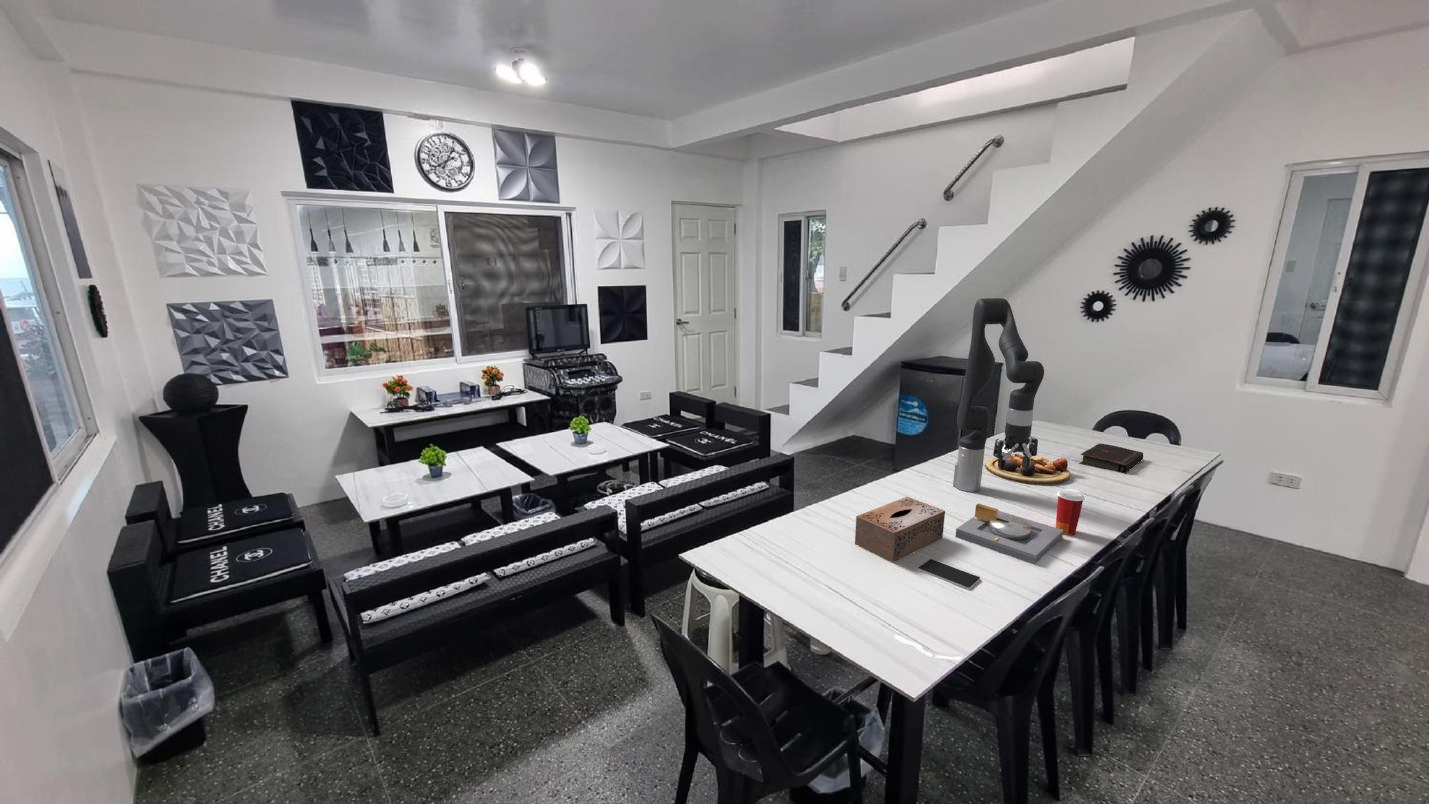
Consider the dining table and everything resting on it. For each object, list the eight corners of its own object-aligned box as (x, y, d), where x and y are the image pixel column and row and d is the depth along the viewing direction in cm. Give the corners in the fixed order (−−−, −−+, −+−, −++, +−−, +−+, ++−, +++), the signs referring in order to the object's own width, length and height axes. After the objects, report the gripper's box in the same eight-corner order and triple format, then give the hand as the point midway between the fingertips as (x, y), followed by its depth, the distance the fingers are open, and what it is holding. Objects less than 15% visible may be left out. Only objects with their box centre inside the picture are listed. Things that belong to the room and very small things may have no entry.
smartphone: (930, 558, 171) (981, 576, 160) (930, 561, 171) (980, 580, 160) (917, 568, 165) (968, 587, 155) (917, 571, 166) (968, 591, 155)
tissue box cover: (892, 563, 170) (894, 533, 167) (854, 544, 181) (856, 516, 179) (942, 539, 184) (945, 510, 182) (904, 523, 196) (906, 496, 193)
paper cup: (1075, 528, 190) (1081, 489, 187) (1081, 538, 183) (1088, 498, 180) (1049, 525, 193) (1054, 486, 189) (1054, 535, 186) (1060, 495, 182)
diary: (1142, 462, 254) (1144, 451, 252) (1126, 476, 238) (1128, 464, 236) (1095, 451, 267) (1096, 441, 266) (1076, 464, 251) (1078, 453, 250)
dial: (1036, 531, 183) (1038, 514, 182) (1021, 544, 175) (1024, 526, 174) (983, 515, 195) (984, 499, 194) (967, 526, 188) (969, 509, 186)
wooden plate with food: (1070, 467, 247) (1073, 449, 245) (1069, 491, 221) (1071, 471, 219) (990, 456, 264) (991, 439, 262) (979, 477, 237) (981, 458, 236)
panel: (955, 536, 185) (956, 527, 184) (986, 515, 201) (987, 506, 200) (1034, 564, 168) (1035, 554, 167) (1062, 538, 183) (1063, 529, 182)
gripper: (1006, 426, 179) (1001, 474, 183) (1046, 423, 181) (1040, 471, 185) (991, 420, 186) (986, 466, 190) (1030, 417, 189) (1024, 463, 192)
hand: (1013, 468), depth 188 cm, fingers open, 8 cm apart
